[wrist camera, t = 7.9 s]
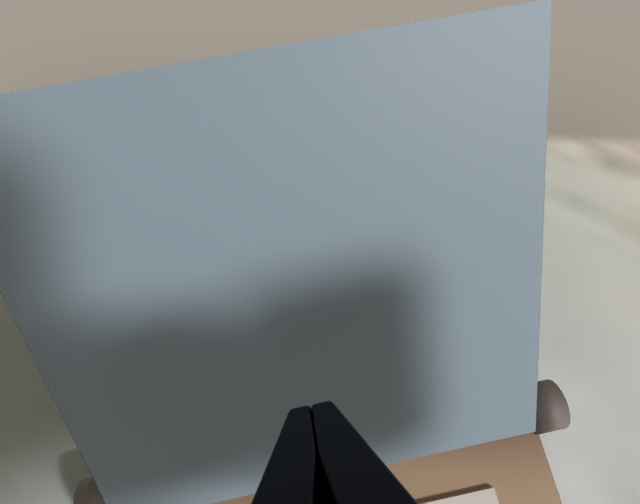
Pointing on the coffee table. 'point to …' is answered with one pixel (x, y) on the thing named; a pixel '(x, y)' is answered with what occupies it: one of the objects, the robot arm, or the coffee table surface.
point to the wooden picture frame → (465, 467)
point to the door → (284, 248)
